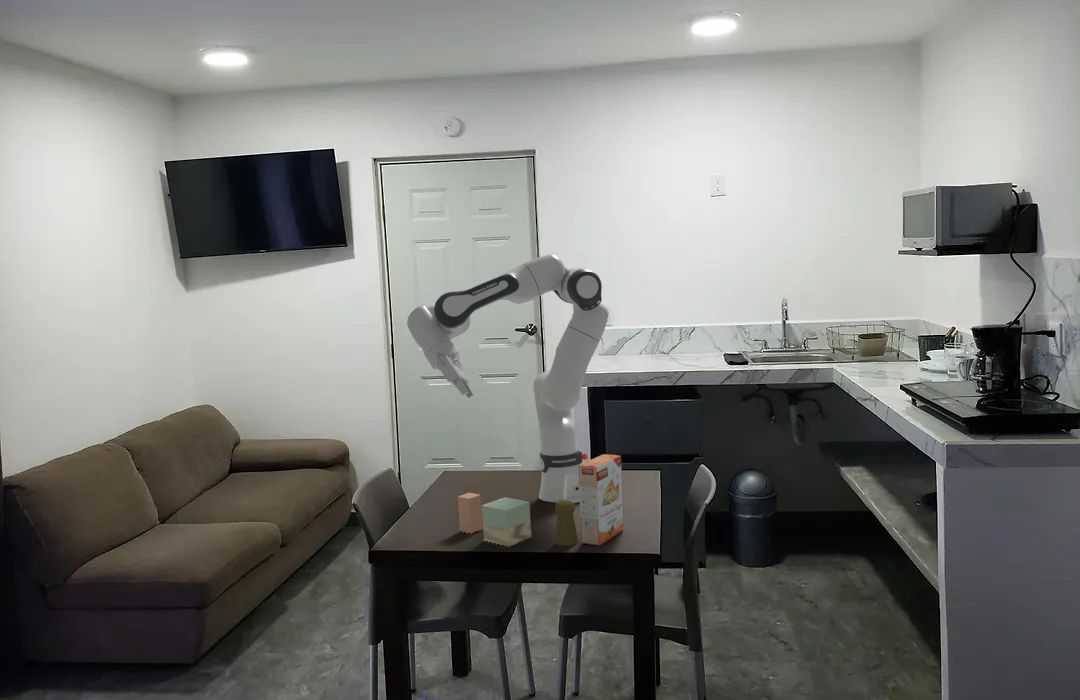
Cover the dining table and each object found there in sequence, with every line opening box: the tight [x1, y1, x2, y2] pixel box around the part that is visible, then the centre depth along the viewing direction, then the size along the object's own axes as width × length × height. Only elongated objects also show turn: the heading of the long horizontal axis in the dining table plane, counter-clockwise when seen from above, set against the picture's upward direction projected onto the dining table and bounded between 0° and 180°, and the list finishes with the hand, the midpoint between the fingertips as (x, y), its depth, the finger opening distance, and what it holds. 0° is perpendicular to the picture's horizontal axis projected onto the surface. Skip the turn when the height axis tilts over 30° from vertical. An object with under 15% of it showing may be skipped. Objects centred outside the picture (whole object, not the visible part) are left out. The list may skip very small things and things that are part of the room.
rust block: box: [457, 492, 483, 535], centre depth 234 cm, size 4×4×10 cm
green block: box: [481, 496, 531, 529], centre depth 224 cm, size 9×9×5 cm
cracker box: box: [578, 454, 624, 547], centre depth 221 cm, size 14×6×21 cm, turn 148°
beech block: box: [482, 519, 532, 548], centre depth 225 cm, size 9×9×5 cm
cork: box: [554, 500, 579, 547], centre depth 219 cm, size 6×6×11 cm
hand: (468, 395), depth 245 cm, fingers open, 8 cm apart
